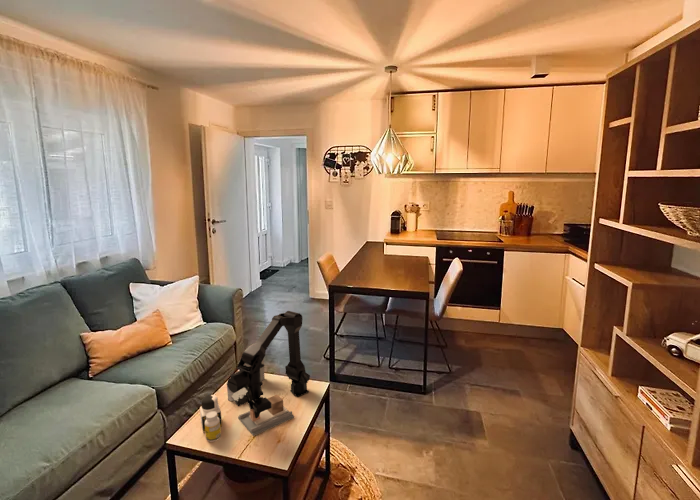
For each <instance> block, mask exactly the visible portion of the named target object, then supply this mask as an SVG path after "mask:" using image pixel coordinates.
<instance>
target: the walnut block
mask: <svg viewBox="0 0 700 500" xmlns="http://www.w3.org/2000/svg"><path fill="white" fill-rule="evenodd" d="M266 398H267V397H266ZM267 399H268V400H269V401H270V402H272V407H271V408H270V409H267V410H268V411H269V412H270V413H271V414H272V415H274V414H277V413H279V412H281V411H284V410H283V406H284V399H283V398H282V397H281V396H280V395H278V394H275V395H273V396H270V397H268V398H267Z"/></svg>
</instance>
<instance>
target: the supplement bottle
mask: <svg viewBox="0 0 700 500" xmlns="http://www.w3.org/2000/svg"><path fill="white" fill-rule="evenodd" d="M204 433H205V440H206V441H207V442H211V443H213V442H216V441H218V440H220V438H221V437H222V433H221V427H220V419H219V417H217V412H215V411H212V412H209V413H207V414H206V420H205V432H204Z"/></svg>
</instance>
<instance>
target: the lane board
mask: <svg viewBox="0 0 700 500" xmlns="http://www.w3.org/2000/svg"><path fill="white" fill-rule="evenodd" d="M249 415H250V410H249V411H246V412H243V413H241V414H239V415H237V416H238V417H237V418H238V420H239V421H240V423H241V424H242V425H243V426H244V427H245V428H246V430H247V431H248V432H249V433H250V434H251V435H252V437H255V436H256V435H259V434H261V433H263V432H265V431H266V432H267V431H268V430H270V429H272V428H274V427H276V426H279V425H281V424H283V423H285V422H288V421H289V420H292V419H294V417H295V416H294V414H293V411H292V410H291V411H289V410H288V412H287V413H285V414H282V415H280V416H278V417H276V418H273V419H271V420H269V421H266V422H264V423H262V424H260V425H256V424H255V423H254V422H253V421H252V420H251V419H250V417H249Z"/></svg>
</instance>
